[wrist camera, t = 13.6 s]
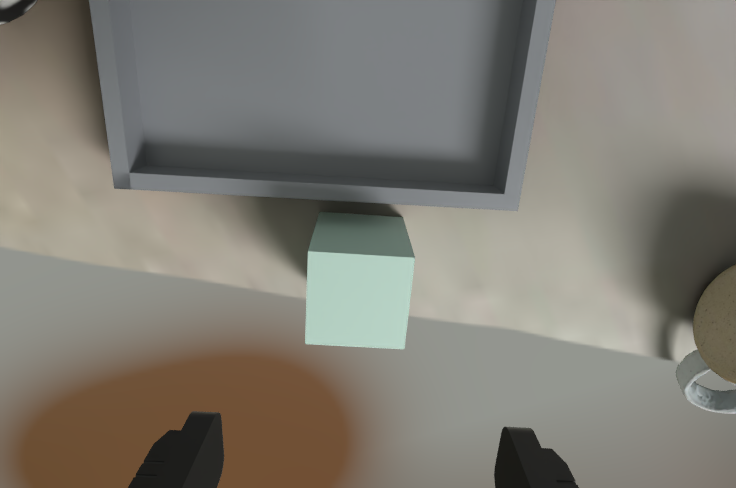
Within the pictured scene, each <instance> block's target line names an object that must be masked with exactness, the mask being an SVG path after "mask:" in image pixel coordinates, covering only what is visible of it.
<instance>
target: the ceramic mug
mask: <svg viewBox="0 0 736 488" xmlns="http://www.w3.org/2000/svg"><path fill="white" fill-rule="evenodd" d="M693 333H694V340H695V344H696V346H697V348H698V350H695V351H693V352H692V353H690V354H688V355H687V356H686V357H685V358H684V359H683V361H682V362H681V363H680V365H678V367H677V370H676V377H677V380H678V383H679V385H680V388H681V390H682V392H683V394H684V396H685V397H686V399H687V400H688V401H689V402H690V403H692V404H694V405H695V406H697V407H699V408H702V409H705V410H708V411H712V412H719V413H731V414H736V390H728V391H719V390H716V391H715V390H710V389H708V388H705V387H703V386H701V385H698V384H696V382H695V381H696V380H697V379H698V378H699V377H700V376H702V375H704V374H706V373H707V372H709V371H710V370H712V371H714V372H715V373H716V374H718V375H719V376H720V377H722V378H723V379H725V380H726V381H728V382H730V383H732V384H733V385H735V386H736V265H733V266H731V267H730V268H728V269H726V270H725V271H723V272H722V273H721V274H719V275H718V276H717V277H716V278H715V279H714V280H713V281H712V282H711V283H710V284H709V285H708V286H707V288H706V289H705V291H704V292H703V294H702V296H701V297H700V300H699V302H698V304H697V306H696V310H695V315H694V319H693Z"/></svg>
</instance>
